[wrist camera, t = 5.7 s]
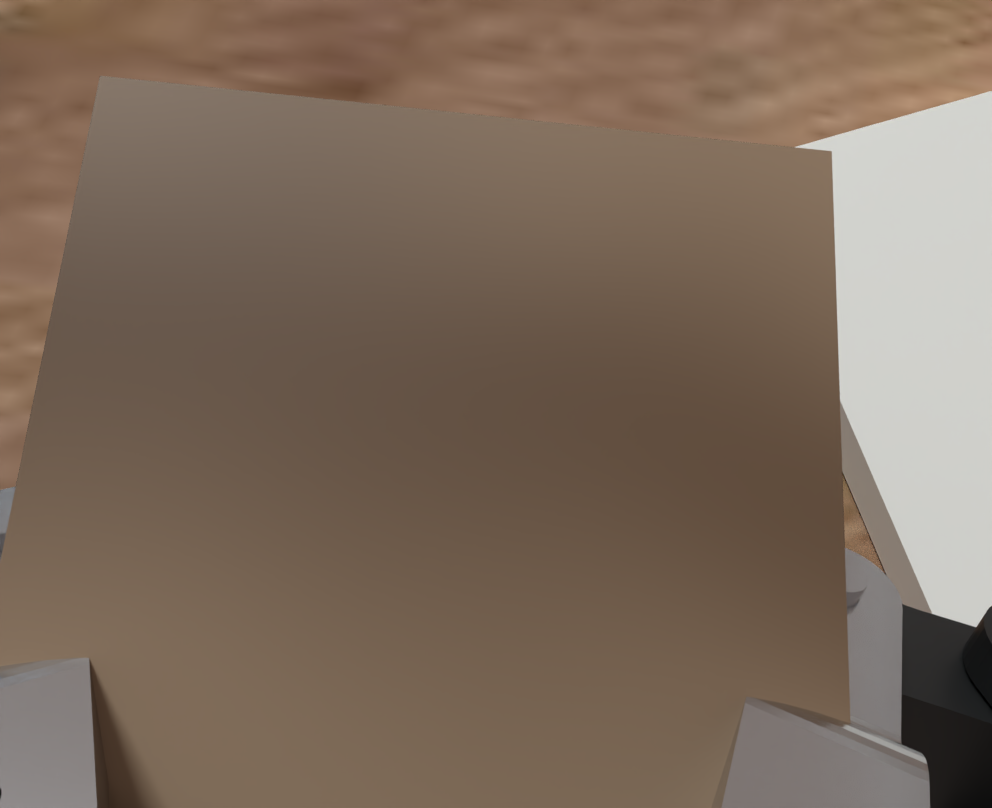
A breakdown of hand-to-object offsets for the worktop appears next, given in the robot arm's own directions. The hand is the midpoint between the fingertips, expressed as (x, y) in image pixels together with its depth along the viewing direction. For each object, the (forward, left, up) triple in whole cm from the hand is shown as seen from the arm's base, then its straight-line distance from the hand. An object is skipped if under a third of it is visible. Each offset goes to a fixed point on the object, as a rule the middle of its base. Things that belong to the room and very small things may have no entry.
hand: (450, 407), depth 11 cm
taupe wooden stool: (-1, -2, -4) cm, 5 cm away
